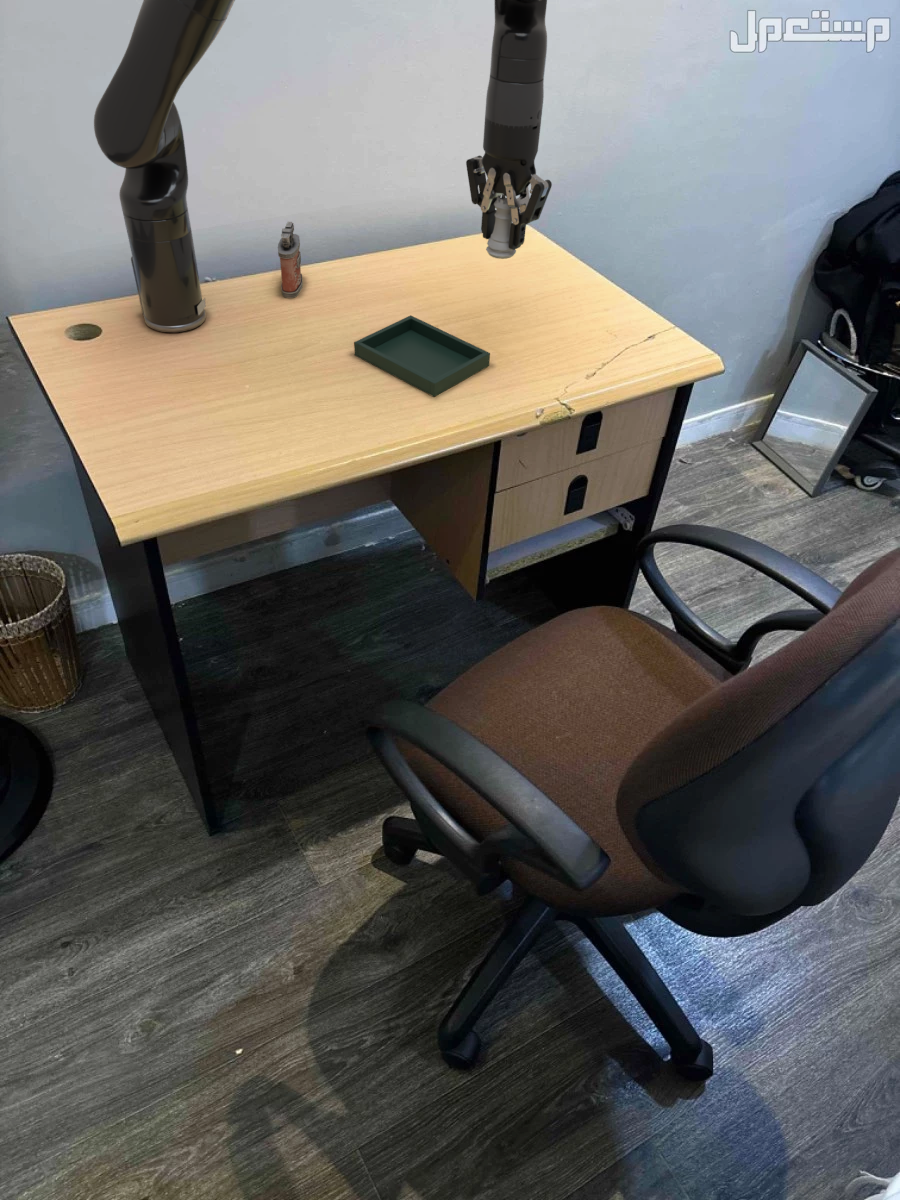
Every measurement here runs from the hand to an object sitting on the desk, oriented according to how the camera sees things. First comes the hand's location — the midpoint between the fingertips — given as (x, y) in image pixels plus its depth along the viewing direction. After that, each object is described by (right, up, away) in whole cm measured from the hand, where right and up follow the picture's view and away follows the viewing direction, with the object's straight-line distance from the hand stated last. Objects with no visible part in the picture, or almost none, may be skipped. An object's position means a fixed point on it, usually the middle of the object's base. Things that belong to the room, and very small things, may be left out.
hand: (502, 242), depth 128 cm
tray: (-12, -16, +6) cm, 21 cm away
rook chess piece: (0, -1, +1) cm, 2 cm away
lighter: (-35, +1, +22) cm, 41 cm away
